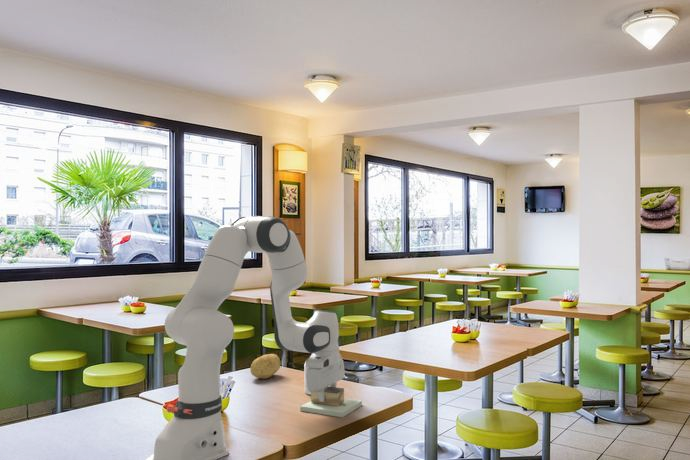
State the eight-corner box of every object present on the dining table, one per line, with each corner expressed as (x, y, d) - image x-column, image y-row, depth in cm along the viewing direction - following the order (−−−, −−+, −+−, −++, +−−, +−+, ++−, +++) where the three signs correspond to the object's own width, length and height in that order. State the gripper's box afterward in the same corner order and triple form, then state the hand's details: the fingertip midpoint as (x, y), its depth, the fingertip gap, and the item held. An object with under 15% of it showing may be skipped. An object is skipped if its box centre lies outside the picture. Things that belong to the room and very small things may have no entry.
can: (302, 391, 207) (301, 359, 207) (318, 389, 210) (317, 357, 210) (308, 396, 201) (307, 363, 201) (324, 393, 204) (324, 361, 204)
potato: (286, 377, 229) (285, 354, 230) (254, 383, 221) (254, 359, 221) (274, 372, 238) (274, 350, 238) (243, 378, 229) (243, 355, 229)
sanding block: (337, 405, 183) (336, 392, 183) (311, 402, 188) (311, 388, 188) (344, 401, 188) (343, 388, 188) (318, 398, 193) (318, 385, 193)
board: (342, 417, 177) (342, 412, 177) (300, 410, 185) (300, 406, 185) (362, 405, 190) (361, 400, 190) (321, 399, 197) (321, 394, 197)
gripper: (332, 350, 199) (333, 389, 199) (302, 363, 181) (303, 405, 181) (348, 352, 196) (349, 391, 196) (319, 364, 178) (320, 408, 178)
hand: (327, 398), depth 188 cm, fingers closed on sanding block, 5 cm apart
